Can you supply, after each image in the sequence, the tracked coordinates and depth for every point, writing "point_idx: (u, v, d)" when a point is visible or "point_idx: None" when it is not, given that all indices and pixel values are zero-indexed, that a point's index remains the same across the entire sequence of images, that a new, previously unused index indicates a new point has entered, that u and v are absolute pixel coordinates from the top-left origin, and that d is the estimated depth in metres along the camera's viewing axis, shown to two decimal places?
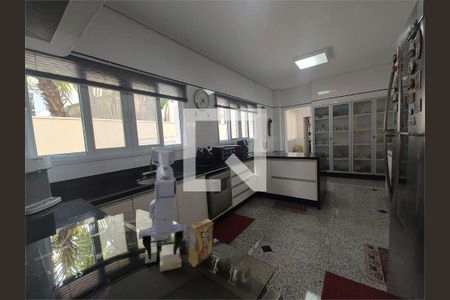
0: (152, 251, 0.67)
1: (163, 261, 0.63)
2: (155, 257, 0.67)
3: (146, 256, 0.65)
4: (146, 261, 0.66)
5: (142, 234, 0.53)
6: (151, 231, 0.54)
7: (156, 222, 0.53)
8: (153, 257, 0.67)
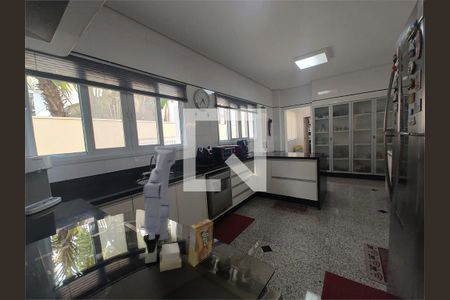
0: None
1: (163, 260, 0.63)
2: (155, 257, 0.67)
3: (146, 256, 0.65)
4: (146, 261, 0.66)
5: None
6: None
7: None
8: (153, 257, 0.67)
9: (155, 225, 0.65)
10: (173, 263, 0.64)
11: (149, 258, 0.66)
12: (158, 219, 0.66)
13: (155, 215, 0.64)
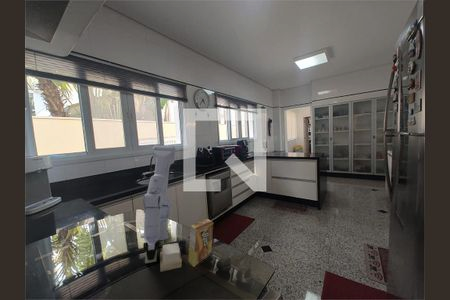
0: None
1: (164, 260, 0.63)
2: (155, 257, 0.67)
3: (146, 256, 0.65)
4: (146, 261, 0.66)
5: None
6: None
7: None
8: None
9: (155, 235, 0.65)
10: (173, 263, 0.64)
11: None
12: (158, 229, 0.66)
13: (155, 225, 0.65)
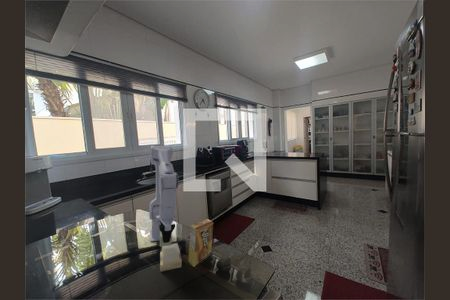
0: None
1: (163, 261, 0.63)
2: (170, 241, 0.65)
3: (161, 239, 0.64)
4: (161, 244, 0.64)
5: None
6: None
7: None
8: None
9: (170, 217, 0.64)
10: (173, 263, 0.64)
11: None
12: (173, 211, 0.65)
13: (170, 206, 0.63)
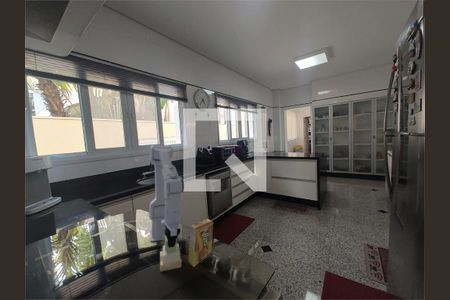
0: None
1: (164, 261, 0.63)
2: (175, 245, 0.65)
3: (166, 244, 0.64)
4: (166, 249, 0.64)
5: None
6: None
7: None
8: None
9: (176, 222, 0.64)
10: (173, 263, 0.64)
11: None
12: (178, 215, 0.65)
13: (176, 211, 0.63)
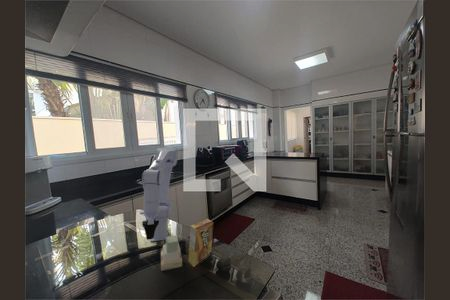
0: (173, 240, 0.65)
1: (164, 260, 0.64)
2: (177, 246, 0.66)
3: (168, 245, 0.64)
4: (168, 251, 0.64)
5: None
6: None
7: None
8: (175, 247, 0.65)
9: (154, 212, 0.65)
10: (174, 262, 0.64)
11: (171, 247, 0.65)
12: (157, 206, 0.66)
13: (154, 201, 0.65)
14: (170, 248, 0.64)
